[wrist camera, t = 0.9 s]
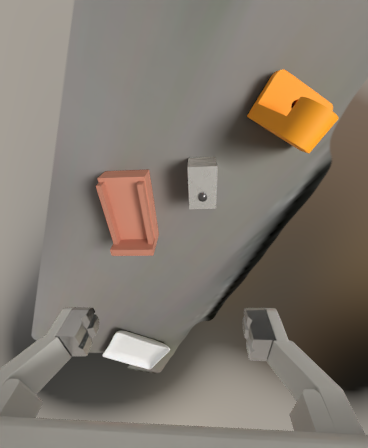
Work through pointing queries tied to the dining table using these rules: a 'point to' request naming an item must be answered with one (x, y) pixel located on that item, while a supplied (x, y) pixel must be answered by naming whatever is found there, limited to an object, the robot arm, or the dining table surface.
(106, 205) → the pink boxy piece
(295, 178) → the dining table surface
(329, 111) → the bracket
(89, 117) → the dining table surface
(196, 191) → the block with knob
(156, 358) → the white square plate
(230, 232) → the dining table surface
